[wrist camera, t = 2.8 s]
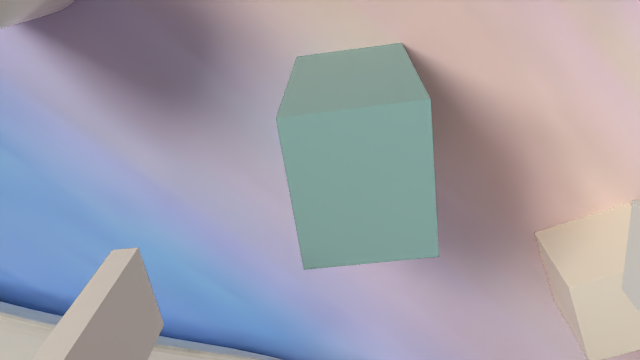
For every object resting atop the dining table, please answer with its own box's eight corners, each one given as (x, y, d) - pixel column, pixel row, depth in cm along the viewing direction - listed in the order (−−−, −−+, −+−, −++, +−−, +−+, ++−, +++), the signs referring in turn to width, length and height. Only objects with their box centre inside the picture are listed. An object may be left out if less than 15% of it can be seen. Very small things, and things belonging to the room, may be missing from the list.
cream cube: (553, 299, 31) (589, 363, 26) (533, 231, 29) (568, 287, 25) (642, 274, 30) (695, 335, 25) (627, 201, 28) (682, 254, 24)
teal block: (314, 169, 28) (303, 269, 20) (297, 56, 25) (275, 118, 17) (410, 158, 27) (438, 256, 19) (401, 42, 25) (430, 99, 17)
